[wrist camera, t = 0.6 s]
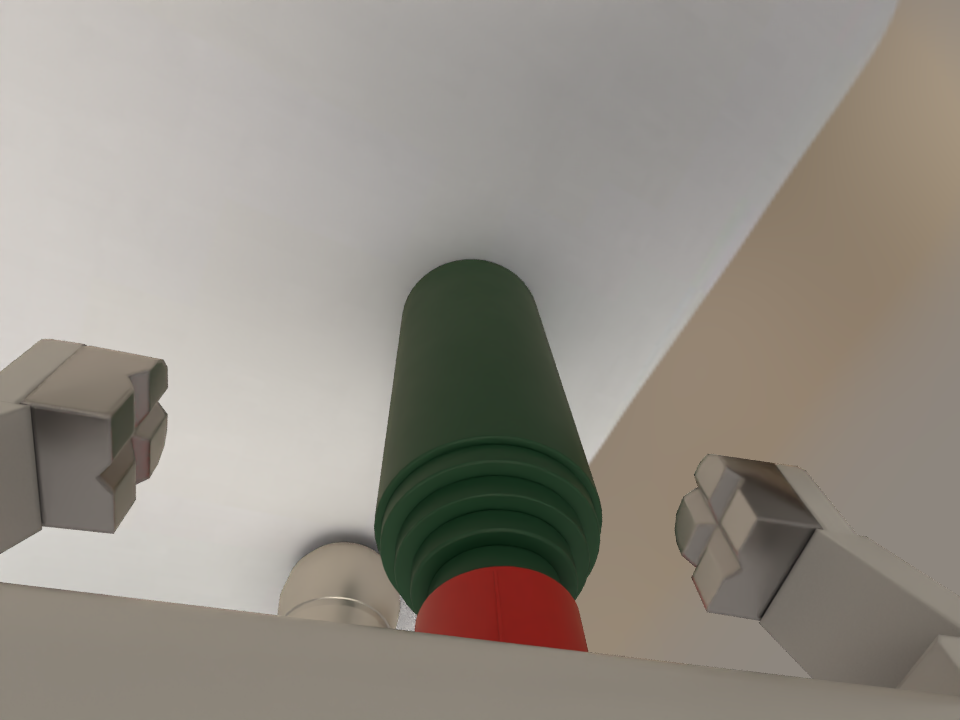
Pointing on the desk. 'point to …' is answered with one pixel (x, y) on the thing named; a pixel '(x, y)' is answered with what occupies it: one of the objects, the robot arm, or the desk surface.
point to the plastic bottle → (341, 587)
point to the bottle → (480, 441)
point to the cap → (504, 609)
